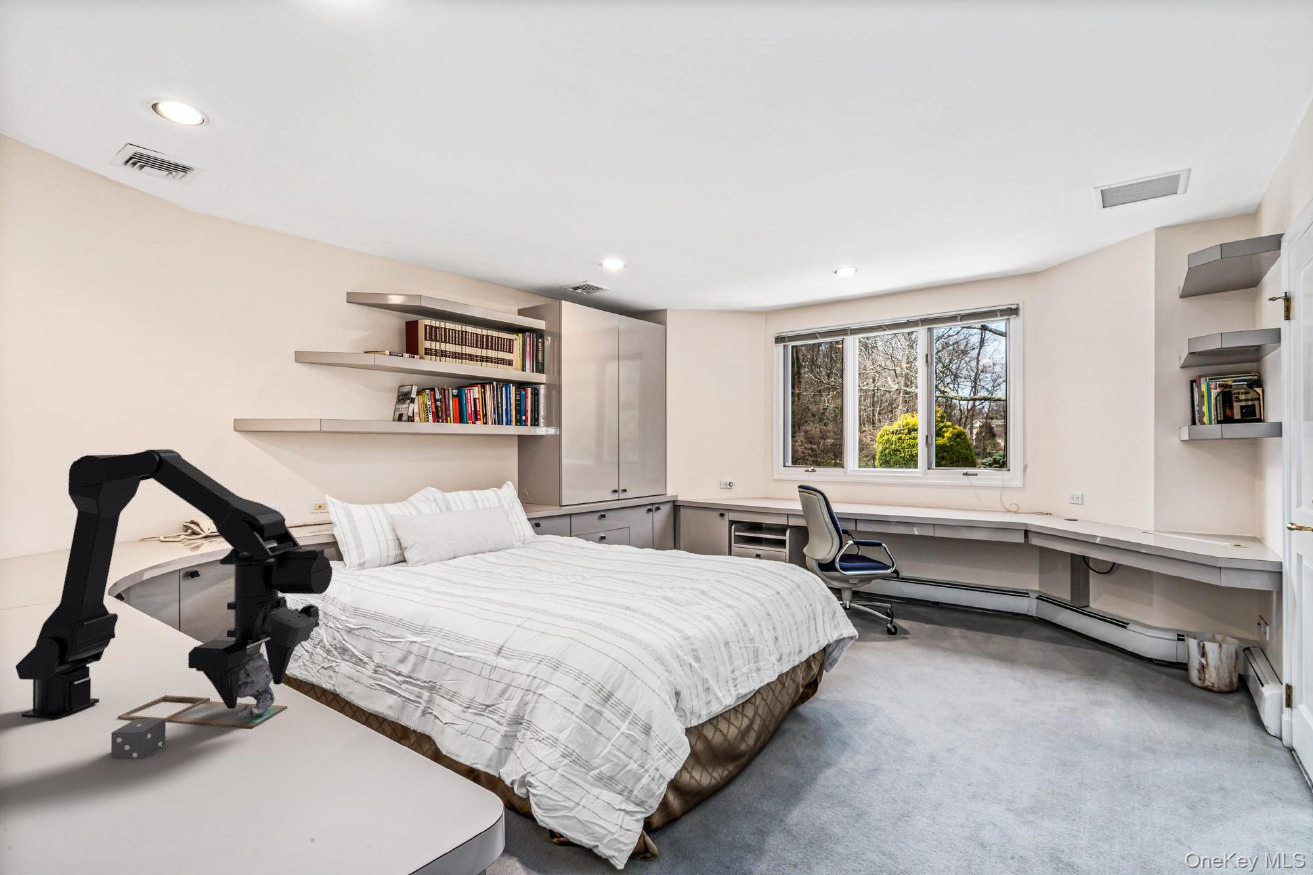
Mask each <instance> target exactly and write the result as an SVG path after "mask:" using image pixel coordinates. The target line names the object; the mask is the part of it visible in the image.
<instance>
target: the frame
mask: <svg viewBox="0 0 1313 875" xmlns="http://www.w3.org/2000/svg"><path fill="white" fill-rule="evenodd" d="M165 701H170V702H171V701H172V702H188V703H194V704H191V705H189V706H187V707H185V708H183V709H181V710H179V711H177V712H175V713H173V714H171V715H169V716H166V717H157V716H156V717H155V716H142V715H141V716H140V715H133V714H135V713H138V712H140V711H144V710H147V709H148V708H151V707H154V706H156V705H159V704H160V703H162V702H165ZM207 701H211V698H210V697H202V696H201V697H199V696H184V695H168V694H167V695H164V696H160V697H159V698H156V699H154V700H152V701H149V702H147V703H145V704H143V705H140V706H138V707H136V708H134V709H132V710H129V711H126V712H125V713H122V714H121V715H118V716H117V719H119V720H120V719H121V720H131V721H133V720H135V719H166V723H169V722H168V720H169V719H172V718H174V717H176V716H178V715H180V714H182V713H184V712H186V711H188V710H190V709H192V708H194V707H196V706H198V705H200V704H202V703H205V702H207Z"/></svg>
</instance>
